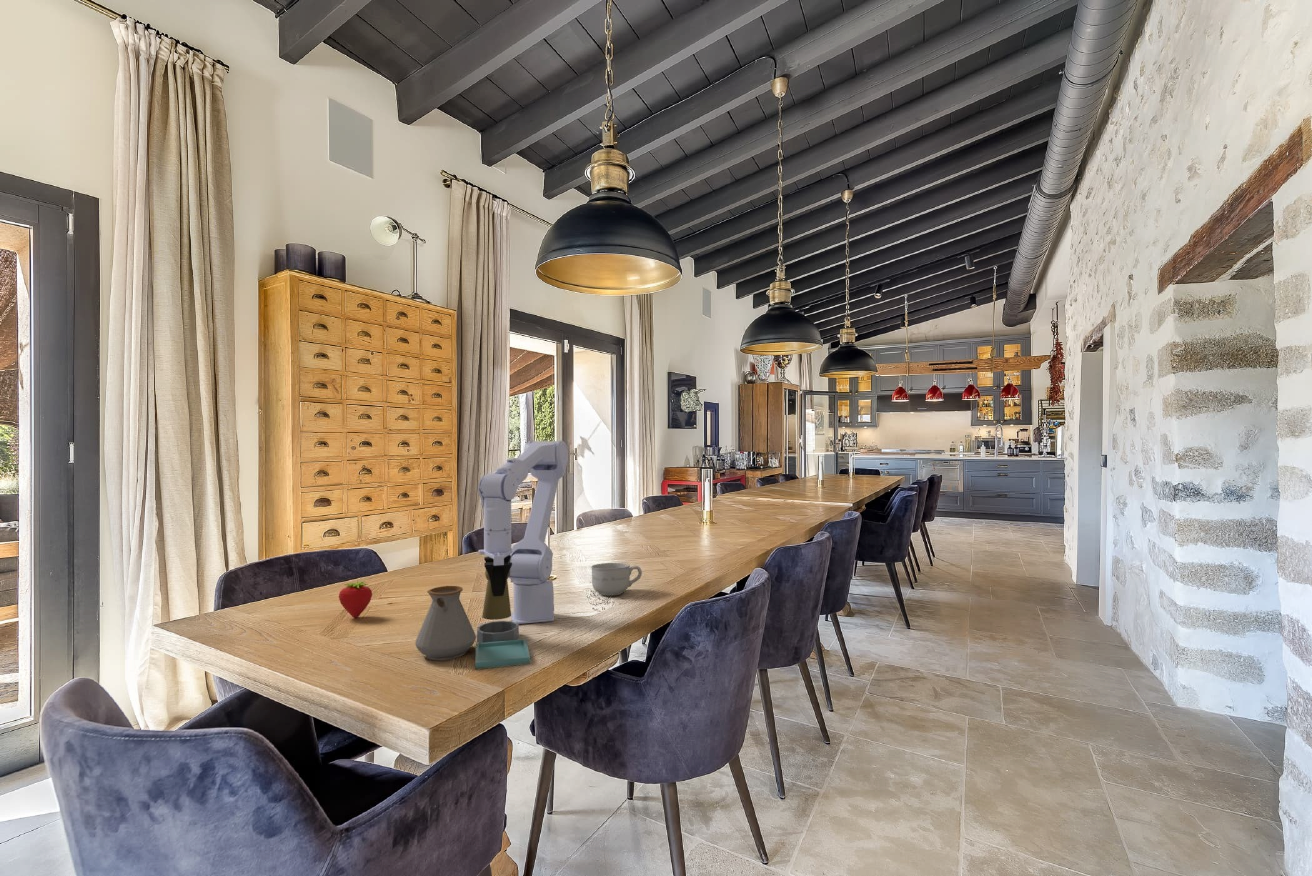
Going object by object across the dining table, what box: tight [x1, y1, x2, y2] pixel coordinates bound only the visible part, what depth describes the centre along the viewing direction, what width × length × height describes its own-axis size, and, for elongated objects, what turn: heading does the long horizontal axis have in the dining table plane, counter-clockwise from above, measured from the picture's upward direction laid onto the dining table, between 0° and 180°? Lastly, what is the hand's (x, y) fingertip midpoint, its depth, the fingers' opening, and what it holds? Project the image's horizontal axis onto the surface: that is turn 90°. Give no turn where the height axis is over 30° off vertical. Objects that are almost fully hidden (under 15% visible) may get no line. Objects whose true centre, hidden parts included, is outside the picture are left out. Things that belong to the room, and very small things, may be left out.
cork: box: [481, 569, 512, 621], centre depth 130 cm, size 6×6×11 cm
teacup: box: [590, 562, 643, 596], centre depth 167 cm, size 14×11×8 cm
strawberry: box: [338, 581, 373, 619], centre depth 145 cm, size 6×8×10 cm
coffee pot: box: [415, 585, 477, 661], centre depth 116 cm, size 21×12×15 cm, turn 14°
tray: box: [474, 638, 531, 670], centre depth 119 cm, size 10×11×1 cm
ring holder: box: [476, 620, 520, 643], centre depth 130 cm, size 9×9×2 cm
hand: (497, 592), depth 130 cm, fingers closed on cork, 5 cm apart
